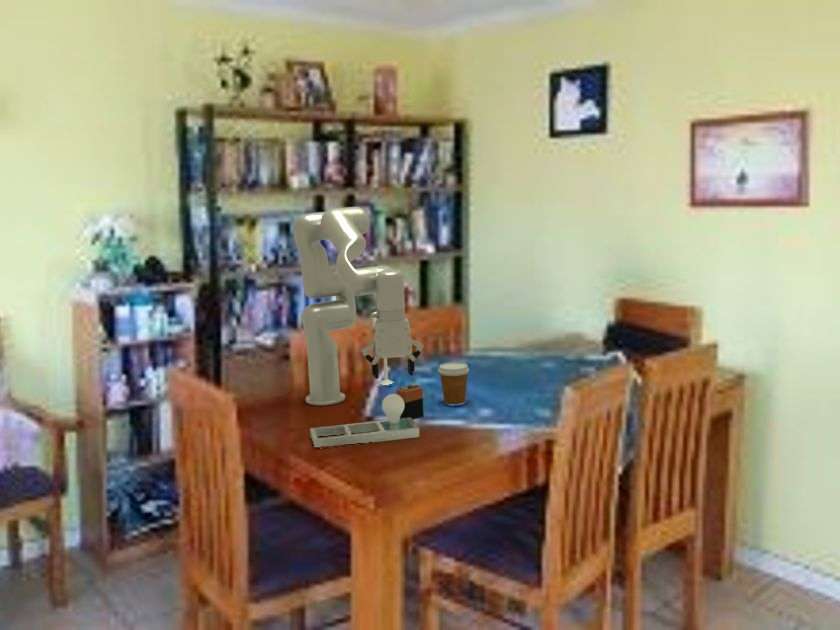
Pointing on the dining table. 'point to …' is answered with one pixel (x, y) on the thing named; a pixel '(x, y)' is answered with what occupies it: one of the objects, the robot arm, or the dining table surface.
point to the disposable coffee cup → (454, 381)
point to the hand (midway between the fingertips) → (393, 375)
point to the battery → (411, 400)
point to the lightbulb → (393, 409)
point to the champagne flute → (385, 373)
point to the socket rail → (382, 433)
